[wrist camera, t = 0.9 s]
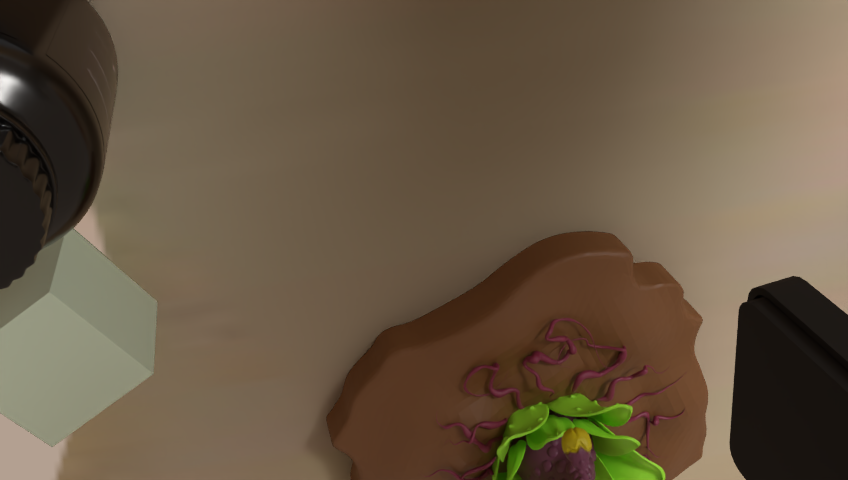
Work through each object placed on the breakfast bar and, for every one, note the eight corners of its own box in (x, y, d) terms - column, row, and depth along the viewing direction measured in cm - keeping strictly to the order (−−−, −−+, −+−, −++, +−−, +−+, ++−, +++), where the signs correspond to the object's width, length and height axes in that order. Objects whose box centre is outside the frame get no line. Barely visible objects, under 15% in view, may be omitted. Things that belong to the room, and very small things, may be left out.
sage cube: (67, 223, 32) (49, 292, 28) (157, 300, 34) (153, 374, 30) (-28, 295, 32) (-60, 373, 28) (68, 366, 35) (52, 447, 31)
